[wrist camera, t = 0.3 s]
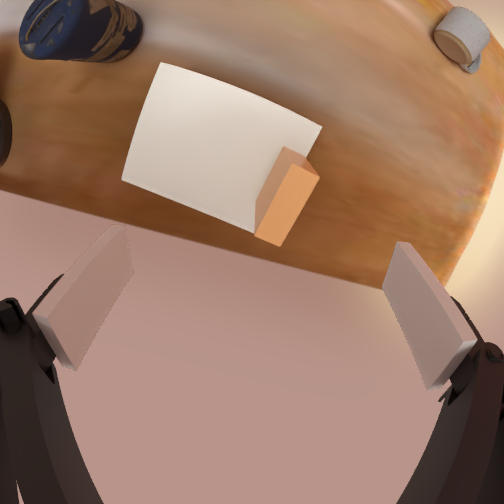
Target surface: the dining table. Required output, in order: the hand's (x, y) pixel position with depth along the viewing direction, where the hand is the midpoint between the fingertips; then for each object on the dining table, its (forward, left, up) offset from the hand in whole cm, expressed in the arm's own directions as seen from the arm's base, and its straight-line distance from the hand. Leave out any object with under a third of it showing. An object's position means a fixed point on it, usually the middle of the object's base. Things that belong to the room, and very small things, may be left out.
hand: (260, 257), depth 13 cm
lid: (-5, -1, -22) cm, 22 cm away
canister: (-27, +9, -28) cm, 40 cm away
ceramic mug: (+19, +33, -28) cm, 48 cm away
